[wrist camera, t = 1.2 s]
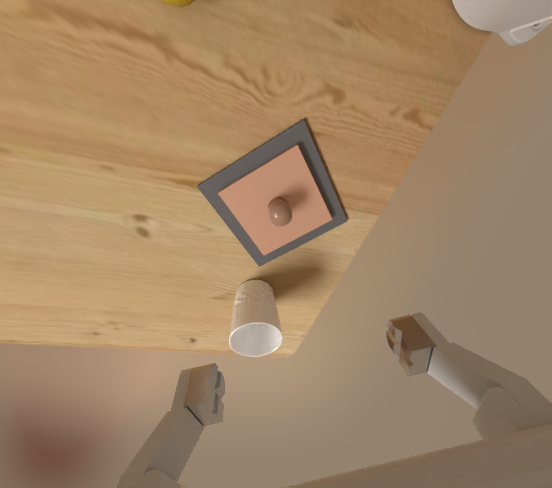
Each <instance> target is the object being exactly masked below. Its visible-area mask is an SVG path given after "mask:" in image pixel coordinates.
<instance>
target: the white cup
mask: <svg viewBox="0 0 552 488" xmlns="http://www.w3.org/2000/svg"><path fill="white" fill-rule="evenodd" d="M282 340H283V335H282V330H281V325H280V320H279V315H278V310H277V306H276V302H275V299H274V295H273V289H272V288H271V286H270V285H269V284H268V283H266V282H264V281H262V280H249V281H246V282H244V283H243V284H241V285H240V286H239V287H238V289H237V292H236V297H235V302H234V308H233V314H232V321H231V329H230V336H229V344H230V347H231V348H232V349H233V350H234V351H235V352H236V353H238V354H241V355H244V356H249V357H258V356H264V355H267V354H270V353H272V352H273V351H275V350H276V349H277V348H278V347H279V346H280V345H281V343H282Z"/></svg>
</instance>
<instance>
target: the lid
mask: <svg viewBox="0 0 552 488" xmlns="http://www.w3.org/2000/svg"><path fill="white" fill-rule="evenodd" d="M218 194H219V196H220V197H221V198H222V200H223V201H224V202H225V204H226V205H227V206H228V208H229V209H230V211H231V212H232V213H233V215H234V216H235V217H236V219H237V220H238V221H239V223H240V224H241V225H242V227H243V228H244V230H245V231H246V232H247V234H248V235H249V236H250V238H251V239H252V240H253V242H254V243H255V245H256V246H257V247H258V249H259V250H260V251H261V253H262V254H263V255H266V254H268V253H270V252H272V251H274V250H276V249H278V248H279V247H281V246H283V245H285V244H287V243H289V242H291V241H293V240H295V239H297V238H298V237H300V236H302V235H304V234H306V233H308V232H310V231H312V230H314V229H316V228H318V227H319V226H321V225H323V224H325V223H327V222H329V221H331V220H333V219H332V217H331V215H330V213H329V211H328V209H327V207H326V204H325V202H324V200H323V198H322V196H321V194H320V192H319V190H318V187H317V185H316V183H315V181H314V179H313V177H312V175H311V172H310V170H309V168H308V166H307V164H306V162H305V160H304V158H303V155H302V153H301V151H300V149H299V147H298V145H297V144H295V145H294V146H292V147H290V148H289V149H287V150H286V151H284V152H282V153H281V154H279V155H277V156H276V157H274V158H272V159H271V160H269V161H267V162H266V163H264V164H263V165H261V166H259V167H258V168H256V169H254V170H253V171H251V172H249V173H248V174H246V175H244V176H243V177H241V178H240V179H238V180H236V181H235V182H233V183H231V184H230V185H228V186H226V187H225V188H223V189H221V190H220V191H218Z"/></svg>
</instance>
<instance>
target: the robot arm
mask: <svg viewBox="0 0 552 488" xmlns="http://www.w3.org/2000/svg"><path fill="white" fill-rule="evenodd" d="M452 2H453V4H454V7H455V9H456V10H457V12H458V14H459V15H460V17H461V18H462V19H463V20H464V21H465V22H466V23H467V24H469V25H470V26H472V27H474V28H477V29H480V30H485V31H492V32H496V33H498V34H499V35H500V36H501V38H502V39H503V40H504V41H505V42H506V43H507V44H509V45H511V46H517V45H520V44H523V43H526V42H527V41H529V40H530V39H532V38H533V37H534V36H535V35H537V34H538V33H539V32H540V31H542V30H543V29H544V28H546V27H547V26H548V25H549V24H550V23H552V0H452ZM387 327H388V328H389V329H388V331H387V332H386V337H387V341H388V344H389V346H390V348H391V349H392V351H393V353H395V354H397V355H398V356H399V362H400V364H401V366H402V367H403V369H404V371H405V372H406V374H407V376H411V375H416V374H421V373H426V372H428V374H429V375H431V376H432V377H433V378H435V379H436V380H437V381H439V382H440V383H442V384H443V385H444V386H446V387H447V388H449V389H450V390H451V391H453V392H454V393H456V394H457V395H458V396H460V397H461V398H463V399H464V400H465V401H467V402H468V403H469V404H471V405H472V406H473V407H475V408H476V409H477V410H476V412H475V414H474V416H473V418H472V422H471V423H472V425H473V426H474V427H475V429H476V430H477V431H478V433H479V434H480V436H481V437H482V438H483V440H479V441H475V442H470V443H466V444H462V445H458V446H454V447H450V448H446V449H441V450H437V451H433V452H429V453H425V454H421V455H417V456H412V457H408V458H404V459H400V460H396V461H391V462H387V463H383V464H379V465H375V466H371V467H367V468H362V469H358V470H354V471H350V472H346V473H342V474H337V475H333V476H329V477H325V478H321V479H317V480H312V481H308V482H304V483H300V484H296V485H292V486H288V487H283V488H552V403H551V402H550V401H549V400H548V399H547V398H545V397H544V396H543V395H542V394H541V393H540V392H539V391H538V390H537V389H536V388H535V387H534V386H533V385H532V384H531V383H530V382H529V381H528V380H527V379H525V378H523V377H521V376H519V375H517V374H515V373H513V372H511V371H509V370H507V369H505V368H503V367H501V366H499V365H497V364H495V363H493V362H491V361H489V360H487V359H485V358H483V357H481V356H479V355H477V354H475V353H473V352H471V351H469V350H467V349H465V348H463V347H461V346H459V345H457V344H455V343H453V342H452V343H449V342H448V341H447V340H446V339H445V338H444V336H443V335H442V334H441V333H440V332H439V331H438V330H437V329H436V328H435V326H434V325H433V324H432V323H431V322H430V321H429V320H428V318H427V317H426V316H425V315H424V314H423V313H415V314H412V315H407V316H403V317H399V318H395V319H391V320H388V321H387ZM217 368H218V367H217V365H216V364H215V363H213V364H209V365H204V366H200V367H196V368H191V369H187V370H183V371H182V372H181V374H180V375H179V380H178V384H177V388H176V392H175V396H174V400H173V404H172V408H171V411H169V412H167V413H166V415H165V416H164V417H163V419H162V420H161V421H160V423H159V424H158V426H157V427H156V428H155V430H154V431H153V432H152V434H151V435H150V437H149V438H148V439H147V441H146V442H145V444H144V445H143V446H142V448H141V449H140V450H139V452H138V453H137V454H136V456H135V457H134V459H133V460H132V461H131V463H130V464H129V466H128V467H127V468H126V470H125V471H124V473H123V474H122V475H121V477H120V480H119V483H118V486H117V488H185V487H184V486H183V485H181V484H180V483H179V482H177V481H178V479H179V477H180V475H181V473H182V471H183V469H184V467H185V465H186V463H187V461H188V459H189V457H190V455H191V453H192V451H193V449H194V447H195V445H196V443H197V441H198V439H199V437H200V435H201V433H202V431H203V429H204V427H203V426H207V425H210V424H214V423H218V422H222V420H223V408H224V404H223V402H222V401H221V399H222V397H223V395H224V393H225V383H224V378H223V375H222V373H221V372H219V371H217V370H218V369H217Z"/></svg>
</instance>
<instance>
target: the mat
mask: <svg viewBox="0 0 552 488" xmlns="http://www.w3.org/2000/svg"><path fill="white" fill-rule="evenodd" d="M295 144H297V145H298V147H299V149H300V151H301V153H302V155H303V158H304V160H305V162H306V164H307V166H308V168H309V170H310V172H311V175H312V177H313V179H314V181H315V183H316V185H317V187H318V190H319V192H320V194H321V196H322V198H323V200H324V202H325V204H326V207H327V209H328V211H329V213H330V215H331V217H332V219H333V220H331V221H329V222H327V223H325V224H323V225H321V226H319V227H318V228H316V229H314V230H312V231H310V232H308V233H306V234H304V235H302V236H300V237H298V238H297V239H295V240H293V241H291V242H289V243H287V244H285V245H283V246H281V247H279V248H278V249H276V250H274V251H272V252H270V253H268V254H266V255H263V254H262V253H261V251H260V250H259V249H258V247H257V246H256V245H255V243H254V242H253V240H252V239H251V238H250V236H249V235H248V234H247V232H246V231H245V230H244V228H243V227H242V225H241V224H240V223H239V221H238V220H237V219H236V217H235V216H234V215H233V213H232V212H231V211H230V209H229V208H228V206H227V205H226V204H225V202H224V201H223V200H222V198H221V197H220V196H219V194H218V191H220V190H221V189H223V188H225V187H226V186H228V185H230V184H231V183H233V182H235V181H236V180H238V179H240V178H241V177H243V176H244V175H246V174H248V173H249V172H251V171H253V170H254V169H256V168H258V167H259V166H261V165H263V164H264V163H266V162H267V161H269V160H271V159H272V158H274V157H276V156H277V155H279V154H281V153H282V152H284V151H286V150H287V149H289V148H290V147H292V146H294V145H295ZM197 187H198V188H199V190H200V191H201V192H202V193H203V195H204V196H205V197H206V199H207V200H208V201H209V202H210V204H211V205H212V206H213V208H214V209H215V210H216V211H217V213H218V214H219V215H220V217H221V218H222V219H223V220H224V222H225V223H226V224H227V226H228V227H229V228H230V229H231V231H232V232H233V233H234V235H235V236H236V237H237V239H238V240H239V241H240V242H241V244H242V245H243V246H244V248H245V249H246V250H247V251H248V253H249V254H250V255H251V257H252V258H253V259H254V260H255V262H256V263H257V264H258V266H259V267H260V266H262V265H264V264H265V263H267V262H269V261H271V260H273V259H275V258H277V257H279V256H281V255H283V254H285V253H287V252H289V251H291V250H293V249H294V248H296V247H298V246H300V245H302V244H304V243H306V242H308V241H310V240H312V239H314V238H316V237H318V236H320V235H322V234H324V233H325V232H327V231H329V230H331V229H333V228H335V227H337V226H339V225H341V224H343V223H345V222H347V219H346V217H345V214H344V212H343V210H342V207H341V205H340V203H339V200H338V198H337V196H336V193H335V191H334V189H333V186H332V184H331V182H330V179H329V177H328V175H327V172H326V170H325V168H324V165H323V163H322V161H321V158H320V156H319V154H318V151H317V149H316V147H315V144H314V142H313V140H312V137H311V135H310V133H309V131H308V128H307V126H306V124H305V121H304V119H303V120H301V121H300V122H298V123H296V124H295V125H293V126H292V127H290V128H288V129H287V130H285V131H284V132H282V133H280V134H279V135H277V136H276V137H274V138H272V139H271V140H269V141H268V142H266V143H265V144H263V145H261V146H260V147H258V148H257V149H255V150H253V151H252V152H250V153H249V154H247V155H245V156H244V157H242V158H241V159H239V160H237V161H236V162H234V163H233V164H231V165H229V166H228V167H226V168H225V169H223V170H221V171H220V172H218V173H217V174H215V175H213V176H212V177H210V178H209V179H207V180H205V181H204V182H202V183H201V184H199V185H198V186H197Z"/></svg>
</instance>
